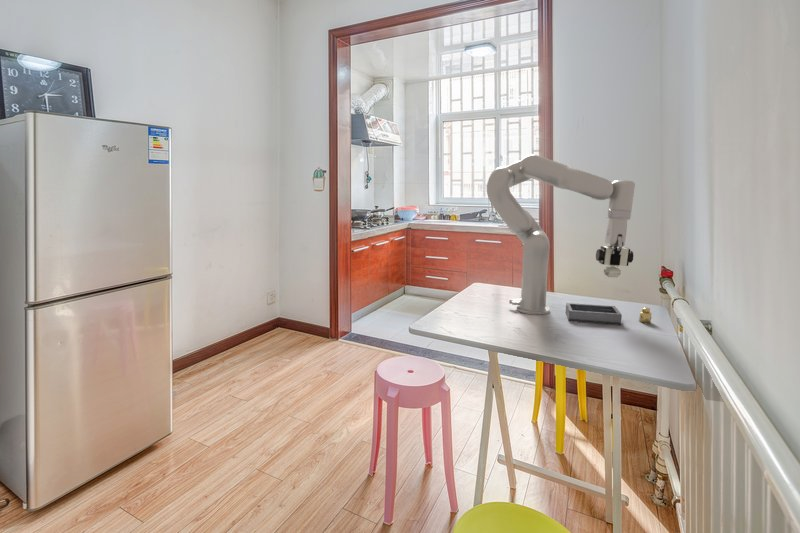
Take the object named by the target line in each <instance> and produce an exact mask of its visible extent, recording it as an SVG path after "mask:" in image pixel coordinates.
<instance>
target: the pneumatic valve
mask: <svg viewBox="0 0 800 533" xmlns="http://www.w3.org/2000/svg"><path fill="white" fill-rule="evenodd" d="M615 246H617V245H615ZM612 249H613V247H608V246H605V245H602V246H600V248H597V249H596V252H595V260H596V261H598V263H599V264H600V265H605V266H606V267H605V268H604V269H603V275H605V276H606V277H608V278H618V277H619V276H620V275H621V269H620V268H619V266H622V267H624V266H625V267H628V266H629V264H630V263H632V262H634V261H633V260H634V251H632V250H631V249H630V248H629V247H624V246H623V247H622V249H621V259H620V265H619V266H618V265H610V259H611V254H612ZM607 265H608V266H607Z"/></svg>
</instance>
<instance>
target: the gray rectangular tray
mask: <svg viewBox="0 0 800 533" xmlns="http://www.w3.org/2000/svg"><path fill="white" fill-rule="evenodd" d="M565 316H566V319H567V321H568V322H571V323H584V324H597V325H611V326H621V325H622V317H623V315H622V313H621V311H620V310H619V309H618V308H617V307H616V306H615V305H603V304H602V305H601V304H589V303H588V304H586V303H573V302H566V304H565Z"/></svg>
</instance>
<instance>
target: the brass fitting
mask: <svg viewBox="0 0 800 533" xmlns="http://www.w3.org/2000/svg"><path fill="white" fill-rule="evenodd" d="M651 320H652V312H651V308H649V307H642V309H641V311H639V319H638V322H639V323H642V324H645V323H647V324H651V323H652V322H651Z"/></svg>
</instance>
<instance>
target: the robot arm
mask: <svg viewBox="0 0 800 533" xmlns="http://www.w3.org/2000/svg"><path fill="white" fill-rule="evenodd" d="M531 179H533V180H536V181H538V182H540V183H541V182H542V183H544V184H546V185H549V186H551V187H555V188H559V189H562V190H567V191H568V190H569V191H571V192H576V193H578V194H581V195H584V196H585V197H586V196H587V197H589V198H591V199H592V200H595V201H605V200H609V201H608V209H607V217H606V218H607V219H608V223H607V228H606V232H605V239H604V244H606V245H608V246H607V247H613V249H612V254H611V259H610V265H618V267H619V266H620V259H621V249H622V247H624V246H625V244H626V238H627V232H628V231H627V230H628V221H630V220H631V218H632V217H631V216H632V210H633V204H634V196H635V195H634V194H635V190H636V189H635V188H636V183H635V182H634V180H633V181H632V180H628V179H627V180H625V179H624V180H620V179H619V180H610V179H606V178H605V177H601V176H598V175H595V174H592V173H590V172H586V171H583V170H581V169H577V168H575V167H572V166H570V165H567V164H564V163H561V162H557V161H555V160H552V159H549V158H547V157H543V156H541V155H537V154H533V153H532V154H527V155H525V156H524V157H523V158H522V159H521V160H518V161H515V162H514V163H511V164H509V165H506V166H499V167H496V168H495V169H494V170H493V171H491V174H490V175H489V178H488V180H487V184H486V195H487V198H488V200H489V202H490V204H491V205H492V207H493V208H494V210H495V211H496V213H497V214H498V215H499V217H500V218H501V219H502V220H503V222H504V223H505V225H506V226H507V228H508V229H509V230H510V231H511V232H512V233H514V234H515V236H516V237H517V238H518V239H519V241H520V242H521V243H522V244H523V245H522V271H521V275H522V276H521V292H520V293H521V294H520V295H521V296H520V298H517V299H514V298H509V304H511V305H513V306H514V305H515V306H516V310H517V311H518V312H520V313H522V314H526V315H537V316H538V315H540V316H541V315H547V314H549V313H550V307H549V306H546V304H547V292H548V291H547V290H548V275H549V274H548V273H549V272H548V271H549V258H550V257H549V256H550V247H551V246H550V243H551V242H550V239H549V237H548V235H547V234H546V232H545V231H544V229H543V228H542V227H541V226H540V225H539V223H538V222H537V221H536V219H535V218H534V217H533V215H532V214H530V212H528V211H527V210H526V209H524V208H523V206H522V205H521V204H520V203H519V202H518V200H517V199H516V197H515V196H514V195H513V194H512V192H511V189H510V188H511V187H514V186H516V185H519V184H522V183H524V182H526V181H528V180H531ZM615 245H617V246H615ZM610 265H609V266H610Z"/></svg>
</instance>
